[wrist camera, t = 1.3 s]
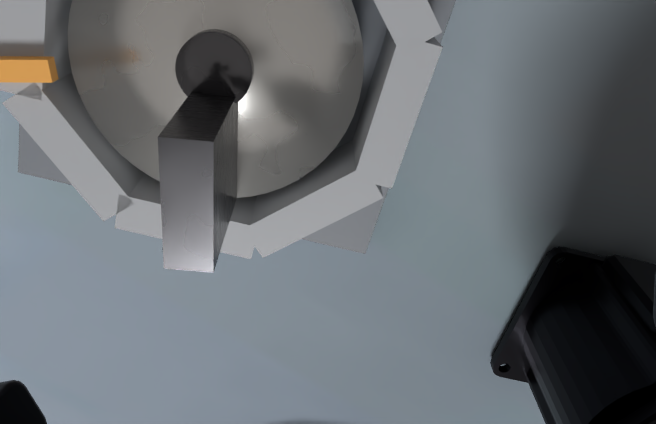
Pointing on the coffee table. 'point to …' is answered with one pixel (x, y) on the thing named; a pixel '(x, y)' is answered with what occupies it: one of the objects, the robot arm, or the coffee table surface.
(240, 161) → the dial
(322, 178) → the dial panel
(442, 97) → the coffee table surface
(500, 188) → the coffee table surface
